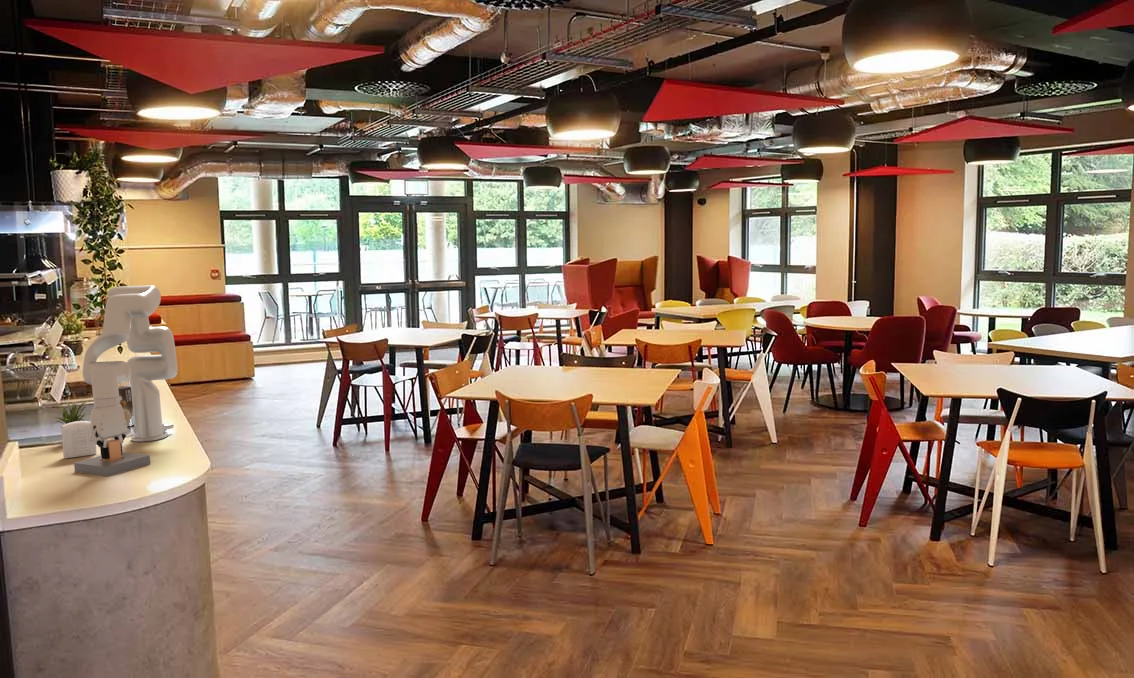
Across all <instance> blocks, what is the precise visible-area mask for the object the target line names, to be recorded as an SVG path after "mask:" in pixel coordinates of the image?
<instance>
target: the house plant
mask: <svg viewBox="0 0 1134 678" xmlns="http://www.w3.org/2000/svg"><path fill="white" fill-rule="evenodd" d="M87 402H89V400H86V401H84V402H82V403H80V405H78V403H75V401H72V406H71V405H70V404H69V402H68V401H65V403H66V404H67V406H68V409H69V412H68V410H67V409H66V407H65V406H62V404H61V405H60V404H57V405H58V406H59V407H60V409H61V411H62V413H61V415H62V417H60V416H59V417H58V416H54V418H55V419H58V420H55V421H54V423H55V422H56V423H61V424H63V423H65V424H68V423H71V422H75V421H85V419H87V416H86V414H88V413H90V411H89V412H85V413H83V414H81V413H82V412H83V411H84V410H85V408H87V406H90V404H88V403H87ZM51 409H53V410H54V408H51ZM83 418H85V419H83ZM61 430H62V427H61Z"/></svg>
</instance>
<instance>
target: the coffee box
mask: <svg viewBox="0 0 1134 678" xmlns="http://www.w3.org/2000/svg"><path fill="white" fill-rule="evenodd" d="M118 391H119V396H121V397H122V400H120V404H121V405H122V408H123V411H124V415H125V420H126V427H127V428H129V427H128V426H129V423H130V419H131V417H132V416H134V414H133V404H132V393H131V386H124V385H122V386H118Z"/></svg>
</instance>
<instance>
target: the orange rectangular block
mask: <svg viewBox="0 0 1134 678" xmlns="http://www.w3.org/2000/svg"><path fill="white" fill-rule="evenodd" d="M107 447H108V448H109V457H110V458H109V459H103V461H108V462H111V461H115V460H119V459H122V455H121V444H120V440H115V439H114V438H111V439H107Z"/></svg>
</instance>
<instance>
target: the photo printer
mask: <svg viewBox="0 0 1134 678" xmlns="http://www.w3.org/2000/svg"><path fill="white" fill-rule="evenodd" d="M61 428H62V429H61V432H60V433H61V441H62V452H63V458H64V459H69V458H70V459H71V458H79V457H87V456H94V455H97V453H98V452H97V445H96V444H95V443H93V442H90V441H89V439H90V437H91V421H90V420H89V421H87V420H80V421H75V422H71V423H68V424H66V423H65V424H63V425H62V427H61Z"/></svg>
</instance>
